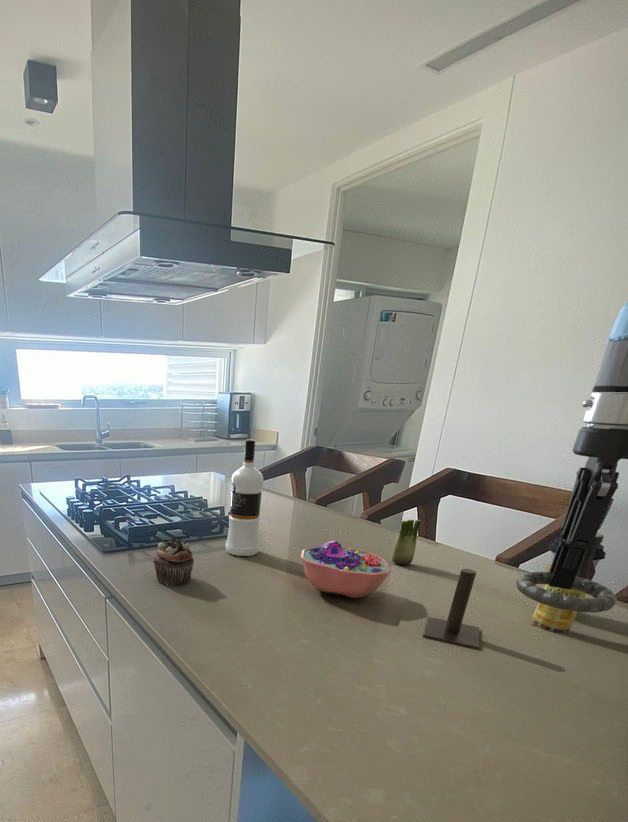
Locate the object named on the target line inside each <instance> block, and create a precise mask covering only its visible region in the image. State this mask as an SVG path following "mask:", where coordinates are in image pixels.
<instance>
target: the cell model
mask: <svg viewBox="0 0 628 822" xmlns="http://www.w3.org/2000/svg"><path fill="white" fill-rule="evenodd" d="M300 559H301V561H302V563H303V564H302V565H303V571H304V575H305V577H306V579H307V580H308V582H309V583H310V585H311V586H312V587H313V588H314V589H315V590H317V591H320V592H323V593H326V594H334V595H335V594H336V595H341V596H345V597H346V598H350V599H359V598H363V597H365V596H367V595H370V594H372V593H374V592H376V591H377V590H378V589H379V588H380V587H381V585H383V583H384V582H385V580H386V579H387V577H388V576H389V575H390V573H391V571H392V570H391V568H390V565H389V564H388V563H387V561H386V560H385V559H384V558H382V557H380V556H378V555H377V554H374V553H372V552H369V551H365V550H360V549H355V548H349V547H343V546H342V544H341V543H340V542H339V541H336V540H331V541H328V542H324V544H323V545H314V546H311V547H308V548H305V549H303V550H301V554H300Z"/></svg>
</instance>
